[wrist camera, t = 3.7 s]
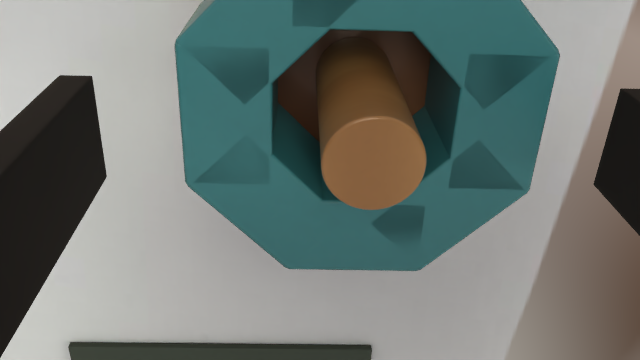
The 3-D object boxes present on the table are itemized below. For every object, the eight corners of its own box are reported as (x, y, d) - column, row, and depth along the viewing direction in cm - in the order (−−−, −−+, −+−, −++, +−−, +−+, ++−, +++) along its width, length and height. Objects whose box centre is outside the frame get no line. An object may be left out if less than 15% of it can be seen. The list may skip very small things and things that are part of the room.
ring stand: (438, -84, 26) (592, -11, 12) (417, 96, 29) (515, 306, 16) (247, -91, 25) (183, -25, 12) (251, 92, 29) (205, 302, 15)
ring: (531, -84, 17) (589, -68, 14) (477, 205, 22) (511, 273, 18) (192, -97, 17) (163, -84, 13) (209, 200, 22) (191, 268, 18)
